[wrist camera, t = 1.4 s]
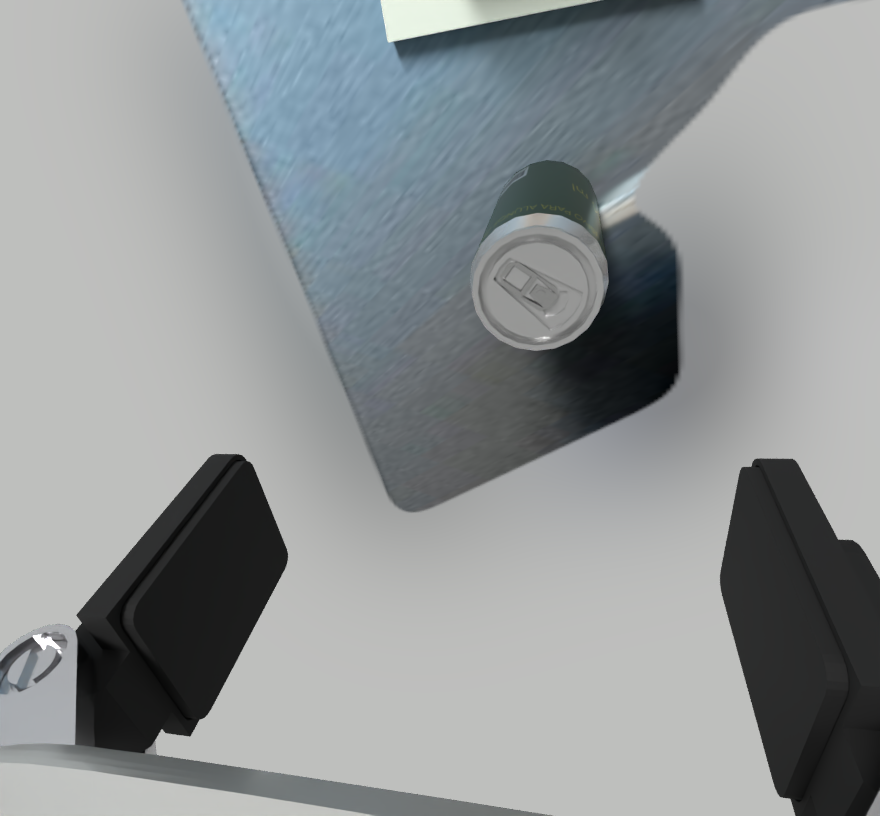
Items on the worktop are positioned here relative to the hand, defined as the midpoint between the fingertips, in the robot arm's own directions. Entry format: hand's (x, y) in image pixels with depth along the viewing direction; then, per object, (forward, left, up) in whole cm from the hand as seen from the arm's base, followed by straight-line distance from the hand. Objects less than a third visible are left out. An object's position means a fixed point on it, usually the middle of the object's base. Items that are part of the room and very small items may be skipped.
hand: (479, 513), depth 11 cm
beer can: (0, +1, -25) cm, 25 cm away
